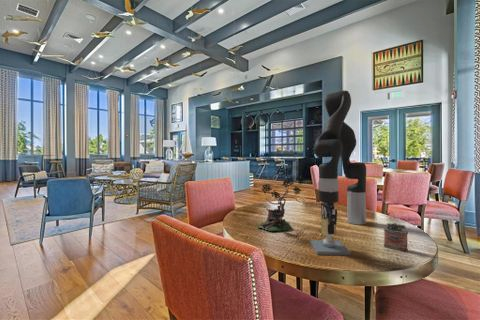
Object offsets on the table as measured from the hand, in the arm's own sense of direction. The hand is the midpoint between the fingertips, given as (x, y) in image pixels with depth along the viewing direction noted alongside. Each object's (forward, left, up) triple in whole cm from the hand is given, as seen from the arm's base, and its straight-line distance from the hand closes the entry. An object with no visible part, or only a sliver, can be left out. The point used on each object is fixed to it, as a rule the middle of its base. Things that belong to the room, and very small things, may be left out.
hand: (328, 231), depth 93 cm
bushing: (0, 0, -1) cm, 1 cm away
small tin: (-1, +26, -7) cm, 27 cm away
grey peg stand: (0, 0, -7) cm, 7 cm away
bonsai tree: (-31, -15, -7) cm, 35 cm away
